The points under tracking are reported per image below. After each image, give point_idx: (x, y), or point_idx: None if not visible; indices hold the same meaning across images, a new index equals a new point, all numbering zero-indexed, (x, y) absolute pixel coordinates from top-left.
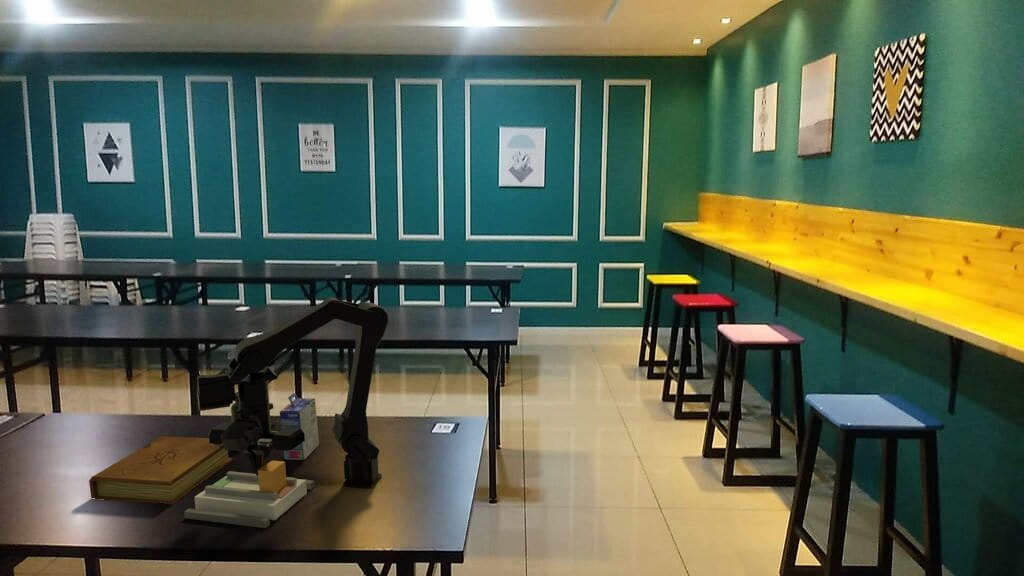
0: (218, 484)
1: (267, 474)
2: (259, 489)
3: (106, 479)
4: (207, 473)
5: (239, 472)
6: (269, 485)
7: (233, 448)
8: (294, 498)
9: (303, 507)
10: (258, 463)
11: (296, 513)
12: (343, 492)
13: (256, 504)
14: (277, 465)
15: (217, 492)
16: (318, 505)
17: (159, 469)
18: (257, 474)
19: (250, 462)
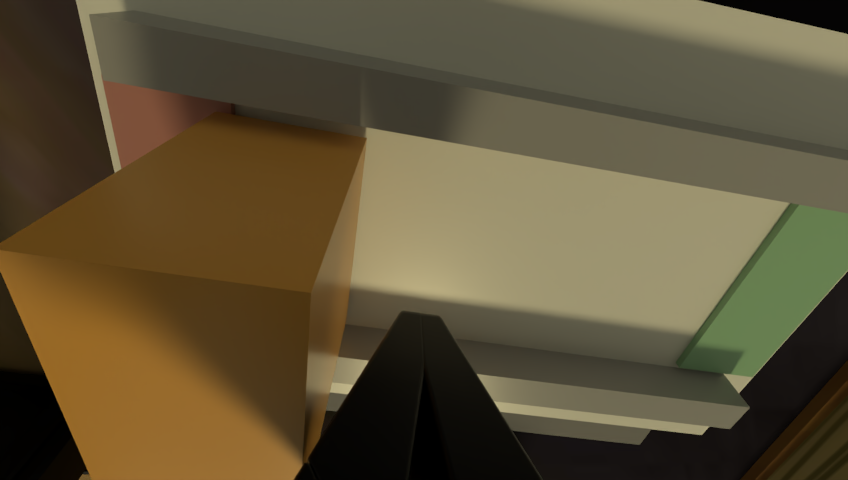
0: (784, 293)
1: (135, 228)
2: (359, 152)
3: None
4: (809, 444)
5: (651, 417)
6: (203, 152)
7: None
8: None
9: (90, 138)
10: (362, 454)
11: (67, 39)
12: (5, 321)
13: None
14: (109, 438)
15: (796, 142)
16: (11, 170)
17: None
18: (424, 323)
19: (529, 475)
